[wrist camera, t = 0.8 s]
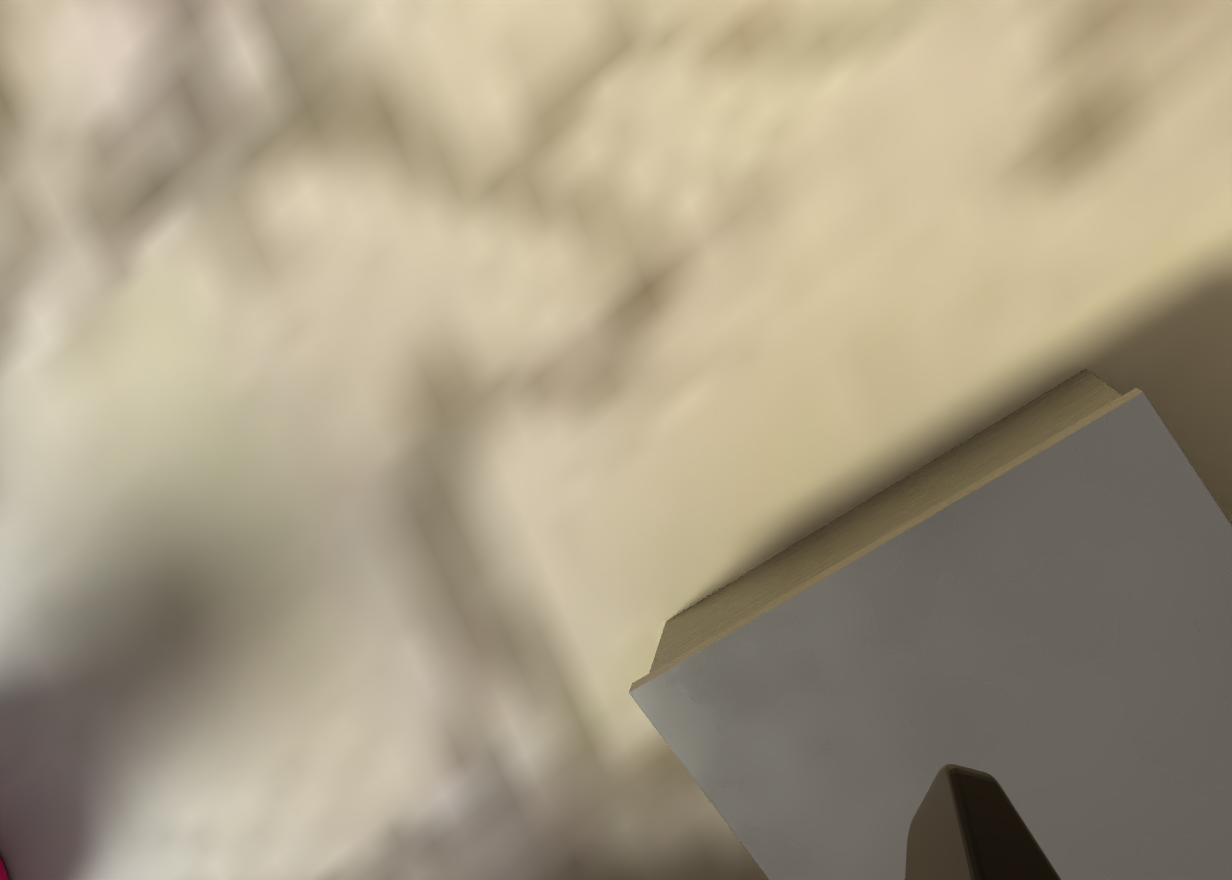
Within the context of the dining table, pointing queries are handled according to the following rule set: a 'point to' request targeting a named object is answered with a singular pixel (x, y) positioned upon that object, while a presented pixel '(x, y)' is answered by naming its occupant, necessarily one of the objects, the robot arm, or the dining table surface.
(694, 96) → the dining table surface
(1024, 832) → the robot arm
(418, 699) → the dining table surface
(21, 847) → the dining table surface
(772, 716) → the slate tin
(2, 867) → the pepper mill
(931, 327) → the dining table surface
